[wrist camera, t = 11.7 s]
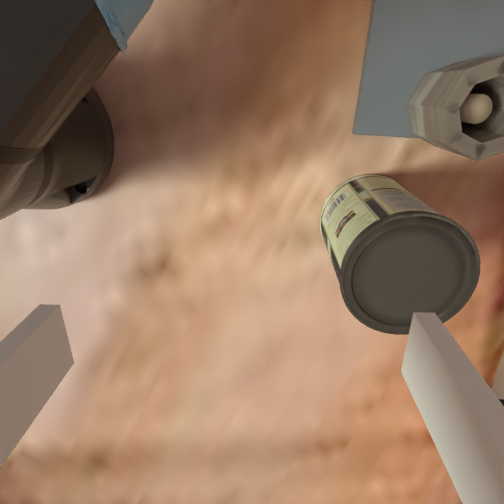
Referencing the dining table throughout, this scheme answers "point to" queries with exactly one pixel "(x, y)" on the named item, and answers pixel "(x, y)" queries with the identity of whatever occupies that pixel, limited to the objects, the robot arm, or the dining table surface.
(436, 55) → the pin board
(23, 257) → the dining table surface
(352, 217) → the coffee can
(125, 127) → the dining table surface
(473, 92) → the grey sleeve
